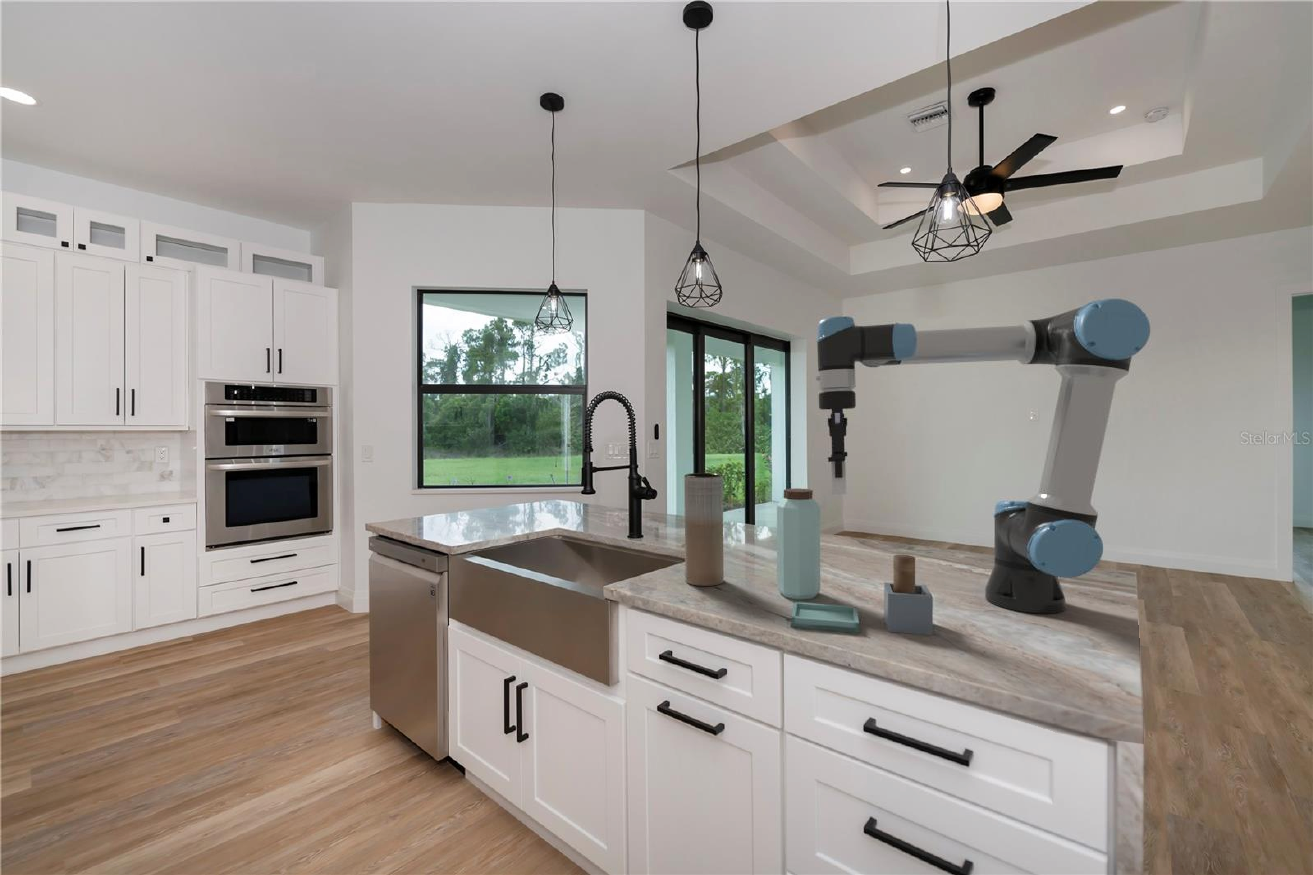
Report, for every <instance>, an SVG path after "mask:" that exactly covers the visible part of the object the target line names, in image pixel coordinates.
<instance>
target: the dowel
mask: <svg viewBox="0 0 1313 875" xmlns="http://www.w3.org/2000/svg"><path fill="white" fill-rule="evenodd" d="M892 564H893V565H892V566H893V570H892V571H893V576H892V578H893V582H892V583H893V593H906V594H915V584H916V557H915V556H914V555H913V556H912V555H909V554H895V555H893V563H892Z"/></svg>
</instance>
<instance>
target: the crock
mask: <svg viewBox="0 0 1313 875" xmlns="http://www.w3.org/2000/svg"><path fill="white" fill-rule="evenodd" d="M933 599H934V597H933V594H932V593H931V592H930V590H929V588H928V586H927V585H926V584H916V583H915V594H906V593H893V582H886V581H885V582H883V619H884V622H885V625H886V629H887V632H890V633H891V632H893V633H902V634H903V633H905V634H915V635H924V636H925V635H926V636H933V635H934V634H933V631H934V630H933V629H934V626H933V622H934V621H933V620H934V617H933V613H934V611H933V610H934V608H933V607H934V606H933V605H934V604H933V602H934V600H933Z"/></svg>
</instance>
